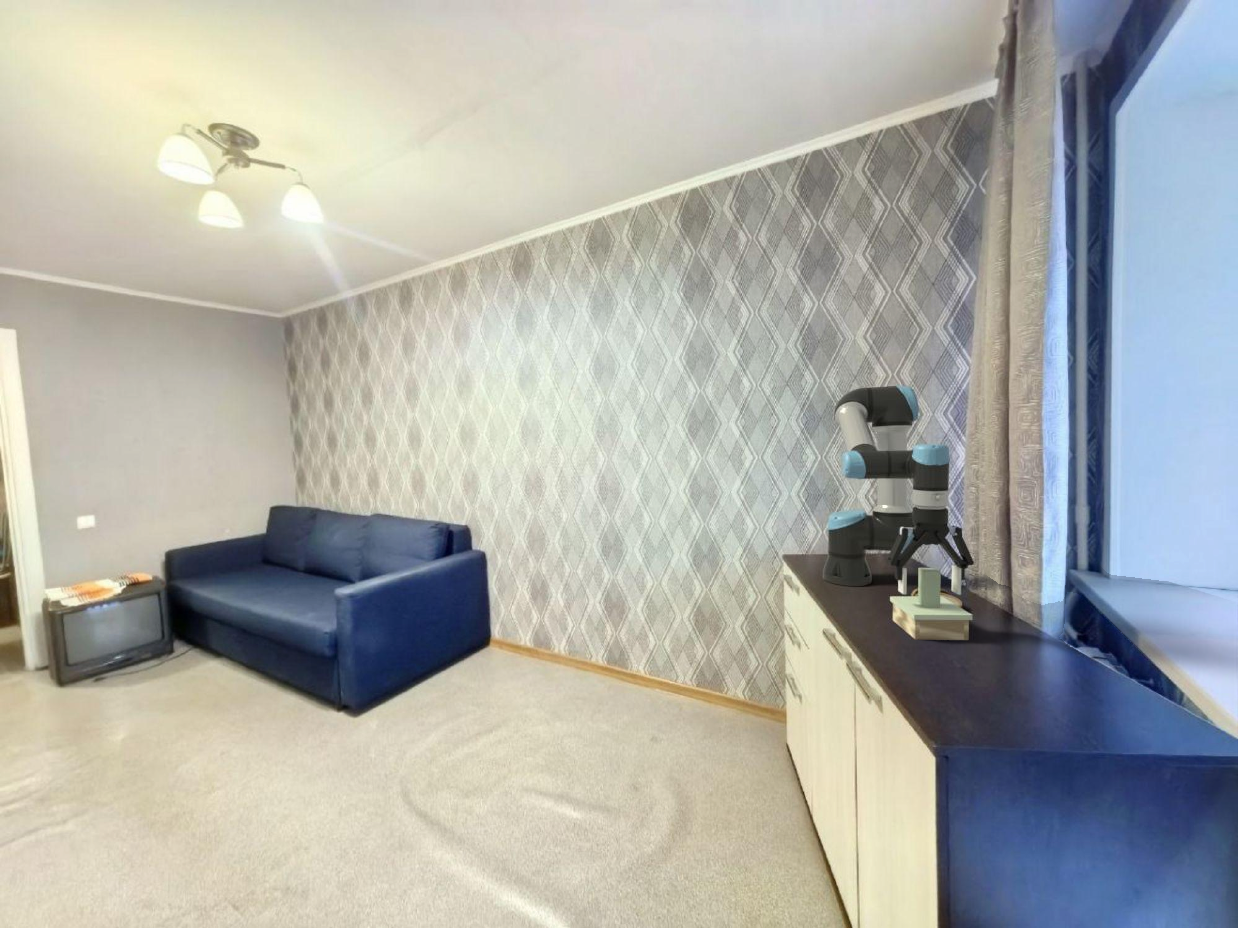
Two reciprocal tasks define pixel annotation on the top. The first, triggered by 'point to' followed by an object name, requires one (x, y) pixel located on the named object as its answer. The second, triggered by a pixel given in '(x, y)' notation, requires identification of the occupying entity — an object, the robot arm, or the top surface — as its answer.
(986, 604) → the top surface
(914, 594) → the alarm clock
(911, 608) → the lid
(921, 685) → the top surface
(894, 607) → the box
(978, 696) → the top surface
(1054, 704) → the top surface
